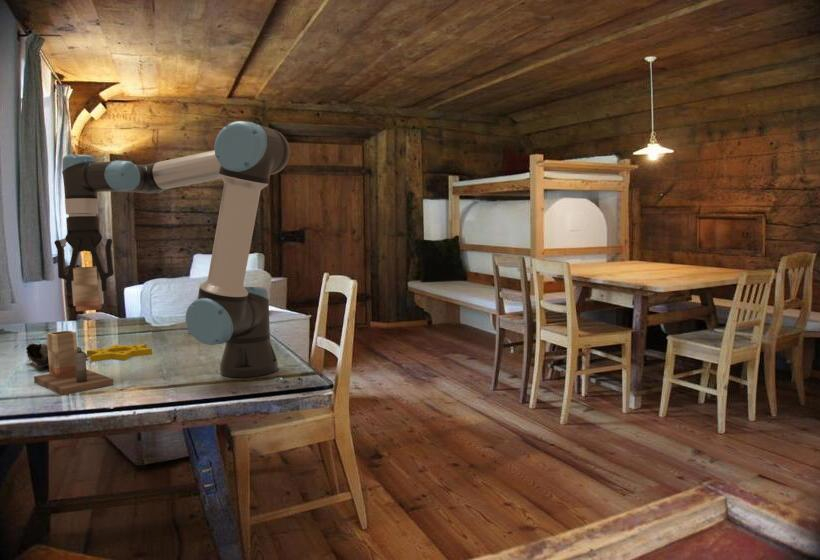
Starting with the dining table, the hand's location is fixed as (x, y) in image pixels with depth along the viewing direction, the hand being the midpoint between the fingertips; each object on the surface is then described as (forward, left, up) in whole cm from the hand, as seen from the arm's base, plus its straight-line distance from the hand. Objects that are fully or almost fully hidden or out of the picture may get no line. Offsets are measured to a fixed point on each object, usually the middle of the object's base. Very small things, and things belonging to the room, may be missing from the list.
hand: (88, 304), depth 167 cm
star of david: (+25, -17, -20) cm, 36 cm away
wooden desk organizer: (-2, +6, -20) cm, 21 cm away
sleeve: (0, 0, -1) cm, 1 cm away
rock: (+26, 0, -20) cm, 33 cm away
